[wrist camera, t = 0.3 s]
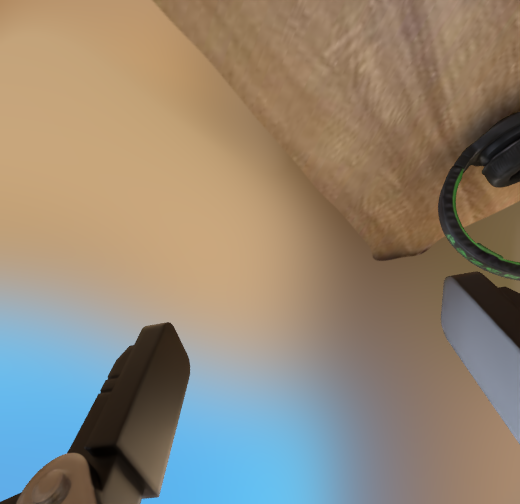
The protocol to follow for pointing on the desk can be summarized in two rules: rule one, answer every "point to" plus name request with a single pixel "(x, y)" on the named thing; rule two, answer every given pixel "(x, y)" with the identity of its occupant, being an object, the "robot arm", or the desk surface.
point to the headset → (499, 175)
